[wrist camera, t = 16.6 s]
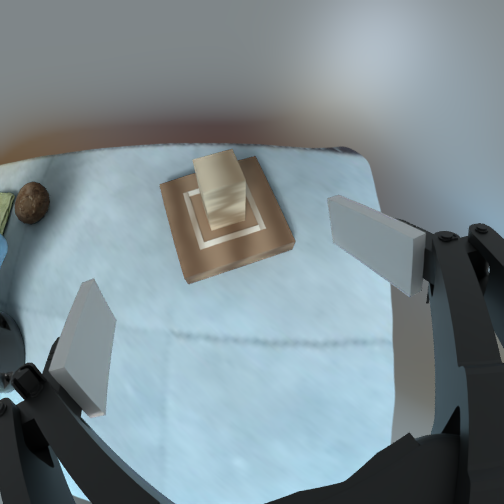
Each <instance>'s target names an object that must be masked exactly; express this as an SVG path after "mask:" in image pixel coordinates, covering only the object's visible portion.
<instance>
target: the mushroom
mask: <svg viewBox="0 0 504 504" xmlns="http://www.w3.org/2000/svg"><path fill="white" fill-rule="evenodd" d="M49 203H50V201H49V194H48V192H47V190H46V188H45V187H44V186H42V185H41V184H40V183H36V182H30V183H27V184H26V185H24V186H23V187H22V188H21V189H20V191H19V193H18V195H17V198H16V201H15V214H16V216H17V217H18V219H19V220H20V221H22V222H23V223H26V224H33V223H35V222H38V221H39V220H40V219H41V218H42V217H43V216H44V215H45V214H46V212H47V211H48V207H49Z"/></svg>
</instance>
